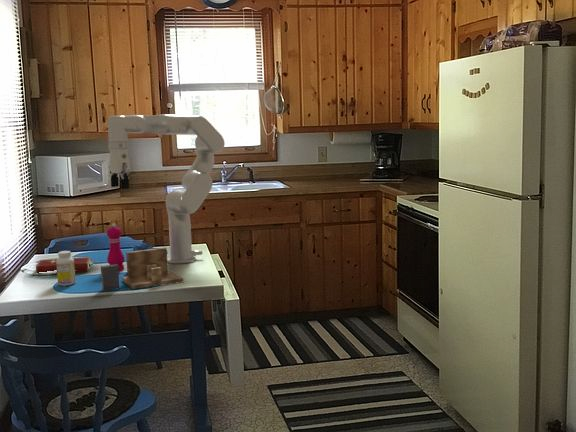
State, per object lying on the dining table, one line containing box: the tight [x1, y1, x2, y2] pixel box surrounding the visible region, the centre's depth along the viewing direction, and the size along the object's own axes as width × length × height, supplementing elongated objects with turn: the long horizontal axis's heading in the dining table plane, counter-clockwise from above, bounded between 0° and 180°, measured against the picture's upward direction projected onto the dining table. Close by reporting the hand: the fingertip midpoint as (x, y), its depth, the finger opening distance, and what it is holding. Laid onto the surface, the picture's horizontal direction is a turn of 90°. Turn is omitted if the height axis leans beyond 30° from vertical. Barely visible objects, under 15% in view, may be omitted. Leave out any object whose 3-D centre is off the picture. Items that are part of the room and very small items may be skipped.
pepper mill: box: [106, 222, 125, 272], centre depth 291 cm, size 7×7×20 cm
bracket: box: [100, 264, 120, 292], centre depth 262 cm, size 6×2×9 cm, turn 118°
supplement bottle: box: [56, 250, 76, 287], centre depth 270 cm, size 7×7×13 cm
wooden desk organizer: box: [121, 247, 184, 290], centre depth 271 cm, size 20×15×12 cm
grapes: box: [130, 242, 154, 252], centre depth 289 cm, size 12×7×12 cm, turn 94°
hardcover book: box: [35, 256, 92, 273], centre depth 295 cm, size 12×21×4 cm, turn 100°
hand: (120, 187), depth 285 cm, fingers open, 9 cm apart
